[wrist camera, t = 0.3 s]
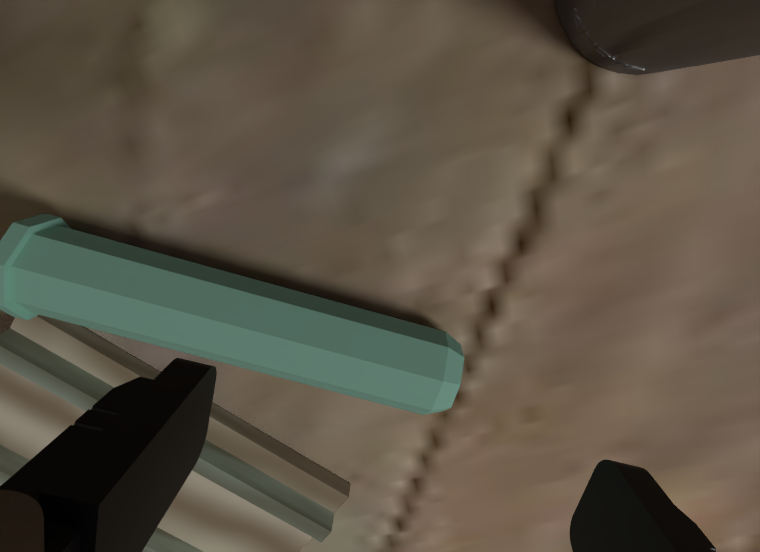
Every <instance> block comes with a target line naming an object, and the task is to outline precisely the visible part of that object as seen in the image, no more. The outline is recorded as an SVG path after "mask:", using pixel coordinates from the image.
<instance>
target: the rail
mask: <svg viewBox="0 0 760 552" xmlns="http://www.w3.org/2000/svg"><path fill="white" fill-rule="evenodd" d="M160 373H161V372H159V371H158V370H156V369H154V368H152V367H151V366H149V365H147V364H146V363H144V362H142V361H141V360H139V359H137V358H135V357H134V356H132V355H130V354H129V353H127V352H125V351H124V350H122V349H120V348H118V347H117V346H115V345H113V344H112V343H110V342H108V341H106V340H105V339H103V338H101V337H100V336H98V335H96V334H95V333H93V332H91V331H89V330H88V329H86V328H84V327H83V326H81V325H77V324H73V323H69V322H65V321H62V320H58V319H54V318H50V317H46V316H42V315H37V316H35V317H34V318H32V319H30V320H24V319H20V318H16V317H15V318H14V320H13V322H12V325H11V327H10V328H9V329H7V330H5V331H3V332H2V333H0V485H2V484H3V483H4V482H6V481H7V480H8V479H9V478H10V477H11V476H13V475H14V474H15V473H16V472H17V471H18V470H19V469H21V468H22V467H23V466H24V465H25V464H26V463H27V462H29V461H30V460H31V459H32V458H33V457H34V456H36V455H37V454H38V453H39V452H40V451H41V450H42V449H44V448H45V447H46V446H47V445H48V444H49V443H50V442H52V441H53V440H54V439H55V438H56V437H57V436H59V435H60V434H61V433H62V432H63V431H64V430H65V429H67V428H68V427H69V426H70V425H74V423H75V421H76V420H77V419H78V418H79V417H80V416H81V415H83V414H84V413H85V412H86V411H87V410H88V409H89V410H91V409H92V407H93V405H94V404H95V403H96V402H98V401H99V400H100V399H101V398H102V397H103V396H104V395H106V394H107V393H108V392H109V391H110V390H111V389H113V388H115V387H117V386H119V385H122V384H124V383H126V382H129V381H131V380H133V379H136V378H138V377H145V378H149V379H153V380H154V379H155V378H156V377H157V376H158V375H159V374H160ZM349 491H350V483H348V482H347V481H345V480H343V479H341V478H340V477H338V476H336V475H335V474H333V473H331V472H330V471H328V470H326V469H324V468H323V467H321V466H319V465H318V464H316V463H314V462H313V461H311V460H309V459H307V458H306V457H304V456H302V455H301V454H299V453H297V452H296V451H294V450H292V449H290V448H289V447H287V446H285V445H284V444H282V443H280V442H278V441H277V440H275V439H273V438H272V437H270V436H268V435H267V434H265V433H263V432H261V431H260V430H258V429H256V428H255V427H253V426H251V425H250V424H248V423H246V422H244V421H243V420H241V419H239V418H238V417H236V416H234V415H233V414H231V413H229V412H227V411H226V410H224V409H222V408H221V407H219V406H217V405H215V404H214V403H212V406H211V412H210V418H209V425H208V431H207V435H206V439H205V443H204V446H203V449H202V451H201V454H200V456H199V459H198V461H197V463H196V465H195V466H194V468H193V470H192V471H191V473H190V474H189V476H188V478H187V479H186V481H185V483H184V484H183V486H182V487H181V489H180V491H179V492H178V494H177V496H176V497H175V499H174V500H173V502H172V504H171V505H170V507H169V509H168V510H167V512H166V513H165V515H164V517H163V518H162V520H161V522H160V523H159V525H158V526H157V528H156V530H155V531H154V533H153V535H152V536H151V538H150V539H149V541H148V543H147V544H146V546H145V548H144V549H143V551H142V552H299V551H300V550H301V549H302V548H303V547H304V546H305V545H306V543H307V542H308V541H309V540H310V539H311V538H312V537H313V538H315V539H317V540H318V541H320V542H322V541H323V540H324V539H325V538H326V537H327V536H328V535H329V533H330V532H331V529H332V524H333V518H334V513H335V512H336V511H337V510H338V508H339V507H340V506H341V505H342V504H343V503H344V502H345V501H346V500H347V499H348V497H349Z"/></svg>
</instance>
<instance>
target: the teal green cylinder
mask: <svg viewBox="0 0 760 552" xmlns="http://www.w3.org/2000/svg"><path fill="white" fill-rule="evenodd" d="M0 310H2V311H4V312H5V313H7V314H9V315H11V316H13V317H16V318H20V319H24V320H30V319H32V318H34V317H35V316H37V315H42V316H46V317H50V318H54V319H58V320H62V321H65V322H69V323H73V324H77V325H81V326H85V327H88V328H92V329H96V330H100V331H104V332H108V333H111V334H115V335H119V336H123V337H127V338H131V339H134V340H138V341H142V342H146V343H150V344H154V345H157V346H161V347H165V348H169V349H173V350H177V351H180V352H184V353H188V354H192V355H196V356H200V357H203V358H207V359H211V360H215V361H219V362H223V363H226V364H230V365H234V366H238V367H242V368H246V369H249V370H253V371H257V372H261V373H265V374H269V375H272V376H276V377H280V378H284V379H288V380H292V381H295V382H299V383H303V384H307V385H311V386H315V387H319V388H322V389H326V390H330V391H334V392H338V393H342V394H345V395H349V396H353V397H357V398H361V399H365V400H368V401H372V402H376V403H380V404H384V405H388V406H391V407H395V408H399V409H403V410H407V411H411V412H414V413H418V414H422V415H424V414H429V413H435V412H441V411H444V410H447V409H449V408H451V407H452V404H453V402H454V399H455V397H456V394H457V392H458V389H459V387H460V384H461V377H462V370H463V363H464V355H463V352H462V348H461V345H460V344H459V343H458V342H457V341H456V340H455V339H453V338H452V337H451V336H450V335H449V334H447V333H446V332H445V331H441V330H438V329H434V328H430V327H427V326H423V325H419V324H416V323H412V322H408V321H405V320H401V319H397V318H394V317H390V316H387V315H383V314H379V313H376V312H372V311H368V310H365V309H361V308H357V307H354V306H350V305H346V304H343V303H339V302H336V301H332V300H328V299H325V298H321V297H317V296H314V295H310V294H306V293H303V292H299V291H296V290H292V289H288V288H285V287H281V286H277V285H274V284H270V283H266V282H263V281H259V280H255V279H252V278H248V277H245V276H241V275H237V274H234V273H230V272H226V271H223V270H219V269H215V268H212V267H208V266H204V265H201V264H197V263H194V262H190V261H186V260H183V259H179V258H175V257H172V256H168V255H164V254H161V253H157V252H154V251H150V250H146V249H143V248H139V247H135V246H132V245H128V244H124V243H121V242H117V241H113V240H110V239H106V238H103V237H99V236H95V235H92V234H88V233H84V232H81V231H77V230H73V229H71V228H70V227H69V226H68V225H67V224H66V222H65V221H64V220H63V219H62V218H61V217H57V216H54V215H50V214H46V213H45V214H41V215H38V216H34V217H31V218H27V219H23V220H20V221H16V222H13V223H12V224H11V226H10V227H9V229H8V230H7V232H6V233H5V234H4V236H3V237H2V239H1V240H0Z"/></svg>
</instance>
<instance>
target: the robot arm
mask: <svg viewBox="0 0 760 552" xmlns="http://www.w3.org/2000/svg"><path fill="white" fill-rule="evenodd" d="M555 5H556V8H557V11H558V15H559V18H560V22H561V25H562V26H563V28H564V30H565V32H566V34H567V36H568V37H569V39H570V41H571V42H572V43H573V45H574V46H575V47H576V48H577V49H578V50H579V51H580V52H581V53H582V54H583V56H585V57H586V58H588V59H589V60H591V61H592V62H594V63H595V64H597V65H598V66H600V67H602V68H605V69H608V70H611V71H614V72H617V73H623V74H634V75H641V74H648V73H656V72H662V71H668V70H674V69H680V68H686V67H691V66H699V65H705V64H711V63H716V62H722V61H728V60H734V59H739V58H745V57H751V56H757V55H760V0H555ZM215 381H216V368H215V367H214V366H210V365H206V364H202V363H197V362H193V361H189V360H185V359H180V358H176V359H174V360H173V361H172V362H171V363H170V364H169V365H168V366H167V367H166V368H165V369H164V370H163V371H162V372H161V373H160V374H159V375H158V376H157V377H156V378H155V379H154V380H153V379H149V378H145V377H138V378H136V379H133V380H131V381H129V382H126V383H124V384H122V385H119V386H117V387H115V388H113V389H111V390H110V391H109V392H108V393H107V394H106V395H104V396H103V397H102V398H101V399H100V400H99V401H98V402H96V403H95V404H94V405H93V407H92V409H91V410H89V409H88V410H87V411H86V412H85V413H84V414H83V415H81V416H80V417H79V418H78V419H77V420H76V421H75V423H74V425H70V426H69V427H68V428H67V429H65V430H64V431H63V432H62V433H61V434H60V435H59V436H57V437H56V438H55V439H54V440H53V441H52V442H50V443H49V444H48V445H47V446H46V447H45V448H44V449H42V450H41V451H40V452H39V453H38V454H37V455H36V456H34V457H33V458H32V459H31V460H30V461H29V462H27V463H26V464H25V465H24V466H23V467H22V468H21V469H19V470H18V471H17V472H16V473H15V474H14V475H13V476H11V477H10V478H9V479H8V480H7V481H6V482H4V483H3V484H2V485H1V486H0V552H142V551H143V549H144V548H145V546H146V544H147V543H148V541H149V539H150V538H151V536H152V535H153V533H154V531H155V530H156V528H157V526H158V525H159V523H160V522H161V520H162V518H163V517H164V515H165V513H166V512H167V510H168V509H169V507H170V505H171V504H172V502H173V500H174V499H175V497H176V496H177V494H178V492H179V491H180V489H181V487H182V486H183V484H184V483H185V481H186V479H187V478H188V476H189V474H190V473H191V471H192V470H193V468H194V466H195V465H196V463H197V461H198V459H199V456H200V454H201V451H202V449H203V446H204V443H205V439H206V435H207V431H208V425H209V418H210V412H211V406H212V400H213V394H214V388H215ZM570 541H571V546H572V550H573V552H716V548H715V547H714V546H713V545H712V543H711V542H710V541H709V540H708V538H707V537H706V536H705V535H704V533H703V532H702V531H701V530H700V528H699V527H698V526H697V525H696V524H695V523H694V522H693V521H692V520H691V519H690V518H689V517H687V516H686V515H685V514H684V513H683V512H682V511H681V510H679V509H678V508H677V507H676V506H675V505H674V504H673V503H672V501H671V500H670V499H669V498H668V496H667V495H666V494H665V492H664V491H663V490H662V489H661V487H660V486H659V485H658V484H657V482H656V481H655V480H654V478H653V477H652V476H651V475H650V473H649V472H648V471H646V470H645V469H643V468H641V467H636V466H632V465H628V464H624V463H619V462H615V461H611V460H602V461H601V462H599V463H598V465H597V466H596V468H595V469H594V472H593V474H592V476H591V478H590V480H589V482H588V484H587V487H586V489H585V491H584V493H583V495H582V497H581V499H580V502H579V504H578V506H577V508H576V510H575V512H574V514H573V517H572V520H571V525H570Z"/></svg>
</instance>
